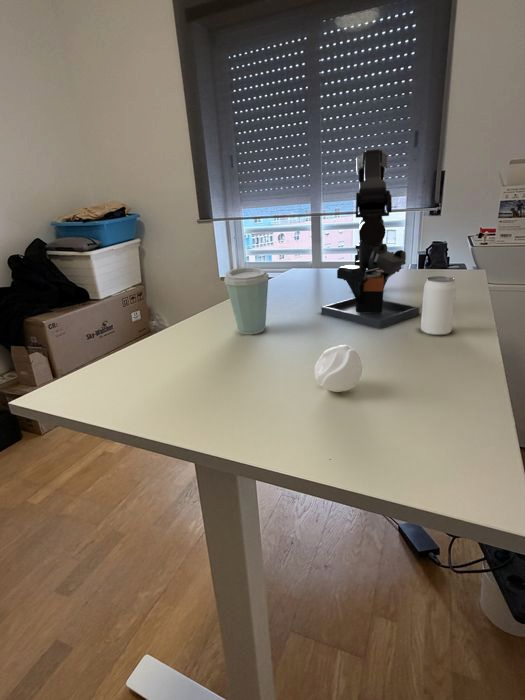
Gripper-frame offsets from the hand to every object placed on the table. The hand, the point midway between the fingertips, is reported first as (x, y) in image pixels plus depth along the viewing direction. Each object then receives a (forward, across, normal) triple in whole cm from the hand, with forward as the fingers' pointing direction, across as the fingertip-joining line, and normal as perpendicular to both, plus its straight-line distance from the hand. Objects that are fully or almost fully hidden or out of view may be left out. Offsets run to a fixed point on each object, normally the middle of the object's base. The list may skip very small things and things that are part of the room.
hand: (369, 301), depth 107 cm
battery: (+3, 0, 0) cm, 3 cm away
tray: (+4, 0, 0) cm, 4 cm away
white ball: (+4, -38, -25) cm, 46 cm away
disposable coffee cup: (+4, -30, +12) cm, 33 cm away
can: (+4, -1, -20) cm, 20 cm away
